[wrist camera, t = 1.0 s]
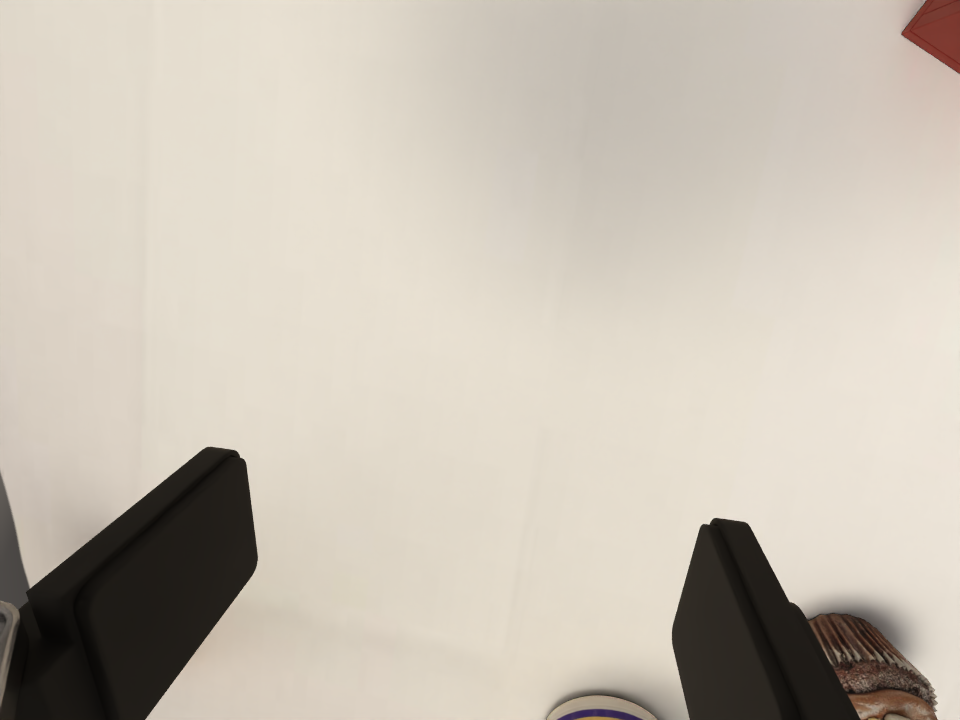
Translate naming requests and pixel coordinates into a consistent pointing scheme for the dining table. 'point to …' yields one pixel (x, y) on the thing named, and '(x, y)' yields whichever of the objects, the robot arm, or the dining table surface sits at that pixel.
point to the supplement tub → (600, 710)
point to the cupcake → (873, 670)
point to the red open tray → (938, 30)
